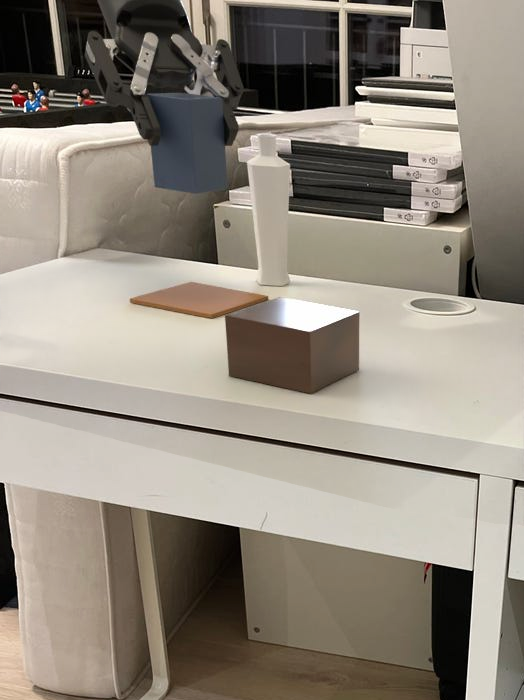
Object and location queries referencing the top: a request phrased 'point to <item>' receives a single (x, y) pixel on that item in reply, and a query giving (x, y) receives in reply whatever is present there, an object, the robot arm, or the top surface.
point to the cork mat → (199, 299)
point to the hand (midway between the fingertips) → (194, 139)
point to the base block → (292, 344)
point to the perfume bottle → (270, 211)
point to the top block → (189, 143)
